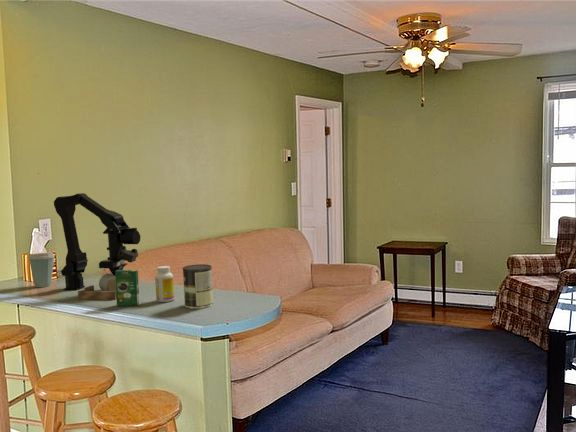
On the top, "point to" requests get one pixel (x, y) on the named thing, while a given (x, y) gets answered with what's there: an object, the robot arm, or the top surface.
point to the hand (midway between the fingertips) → (118, 281)
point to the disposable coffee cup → (42, 268)
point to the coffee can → (198, 286)
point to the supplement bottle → (164, 284)
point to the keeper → (96, 294)
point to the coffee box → (127, 287)
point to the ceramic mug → (107, 282)
